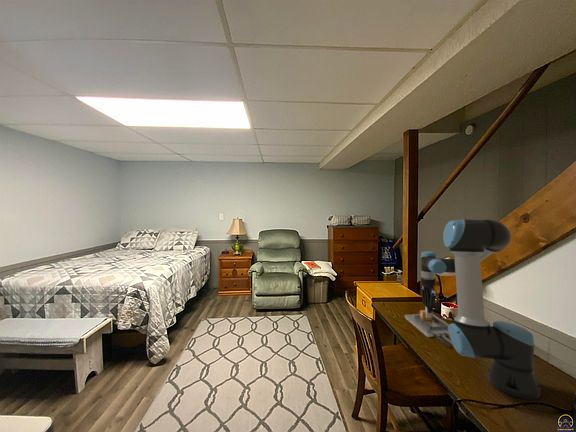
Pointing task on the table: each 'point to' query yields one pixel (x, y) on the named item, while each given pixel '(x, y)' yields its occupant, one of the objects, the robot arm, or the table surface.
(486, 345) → the robot arm
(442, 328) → the panel
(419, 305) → the table surface
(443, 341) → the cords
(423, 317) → the light brown block
